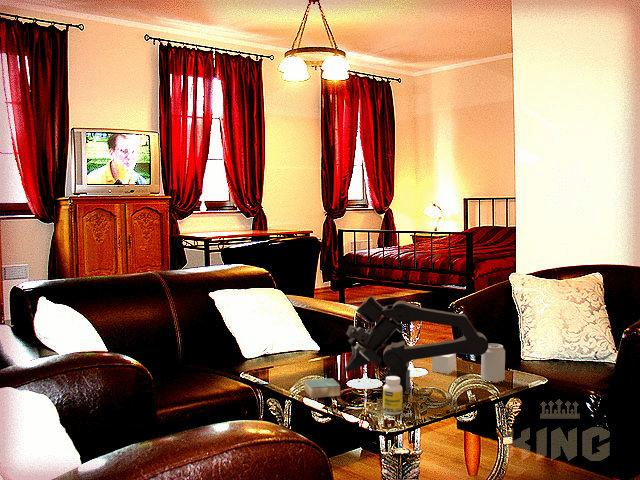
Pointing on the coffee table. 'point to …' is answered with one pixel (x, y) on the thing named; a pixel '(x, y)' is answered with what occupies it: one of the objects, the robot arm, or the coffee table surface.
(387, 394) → the supplement bottle
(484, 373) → the can
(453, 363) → the white cube
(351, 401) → the coffee table surface
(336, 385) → the tile
